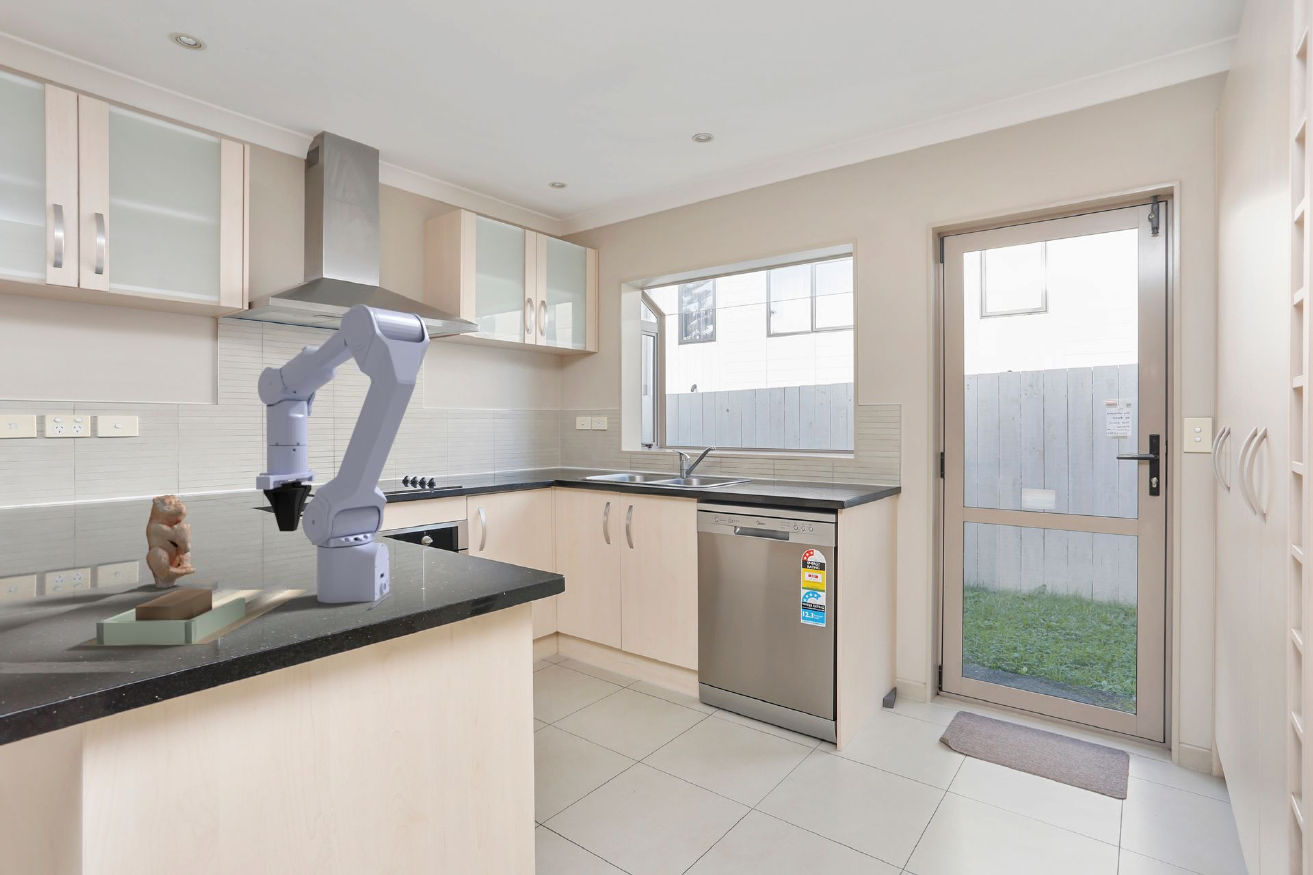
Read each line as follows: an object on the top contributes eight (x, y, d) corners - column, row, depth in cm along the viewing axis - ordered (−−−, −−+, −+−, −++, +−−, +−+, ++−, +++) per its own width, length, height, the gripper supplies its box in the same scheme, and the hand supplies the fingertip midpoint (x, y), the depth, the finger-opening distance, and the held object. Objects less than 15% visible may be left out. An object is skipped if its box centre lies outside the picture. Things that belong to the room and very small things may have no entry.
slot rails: (290, 589, 101) (290, 581, 101) (241, 614, 88) (240, 605, 88) (233, 589, 101) (233, 582, 101) (176, 614, 88) (175, 605, 88)
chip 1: (193, 629, 82) (192, 597, 82) (171, 640, 78) (170, 606, 78) (159, 629, 81) (159, 597, 81) (135, 640, 77) (135, 606, 77)
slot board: (308, 595, 101) (308, 589, 101) (206, 652, 76) (206, 643, 76) (214, 596, 101) (214, 590, 101) (79, 653, 76) (79, 645, 76)
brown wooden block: (212, 619, 86) (212, 589, 85) (192, 629, 82) (191, 597, 82) (180, 620, 85) (180, 589, 85) (158, 629, 81) (158, 597, 81)
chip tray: (245, 616, 87) (245, 597, 87) (191, 643, 76) (191, 621, 76) (162, 617, 87) (161, 598, 87) (96, 644, 76) (96, 622, 76)
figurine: (173, 596, 100) (172, 498, 100) (132, 594, 102) (131, 497, 102) (208, 587, 106) (207, 494, 106) (169, 584, 108) (168, 493, 108)
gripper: (285, 443, 112) (285, 523, 112) (234, 446, 97) (235, 538, 97) (327, 443, 112) (328, 523, 112) (283, 446, 97) (284, 538, 98)
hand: (288, 530), depth 105 cm, fingers closed
